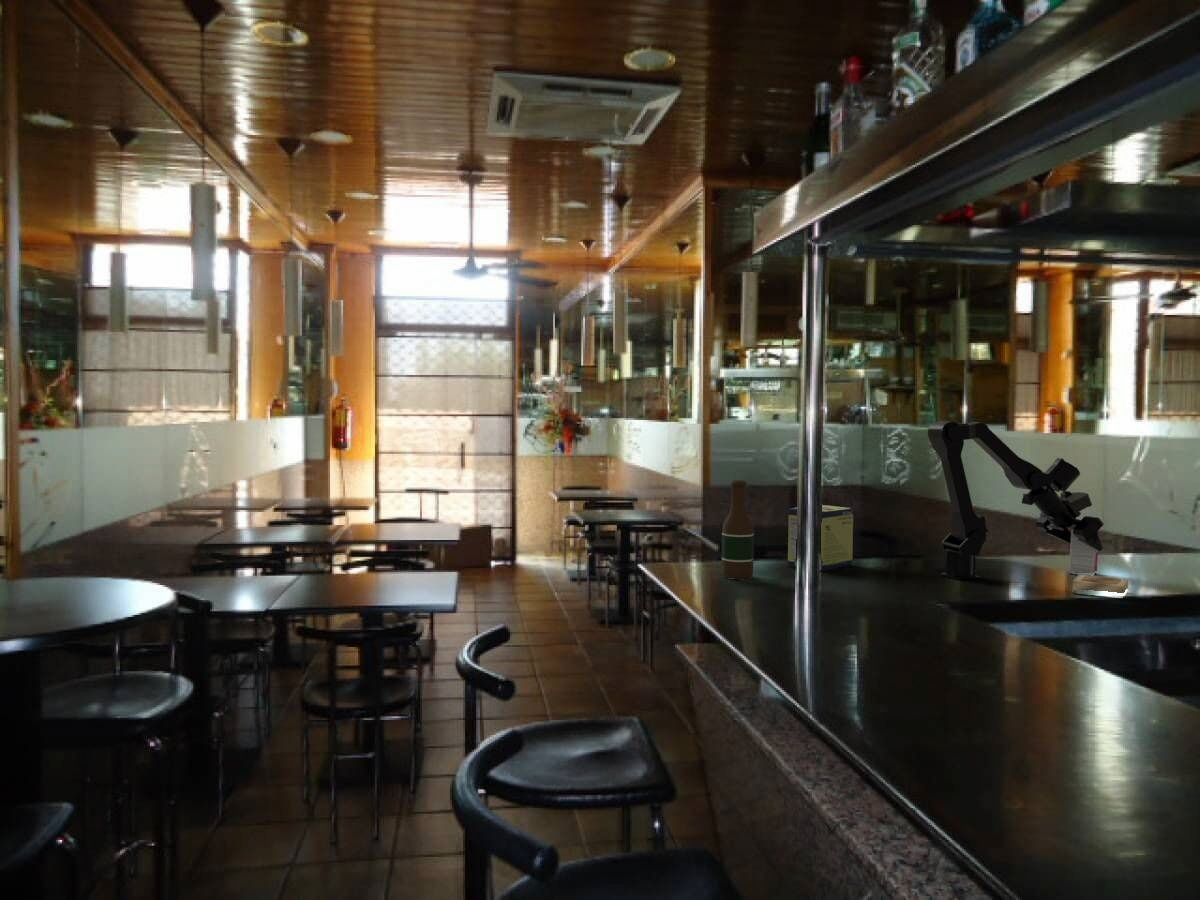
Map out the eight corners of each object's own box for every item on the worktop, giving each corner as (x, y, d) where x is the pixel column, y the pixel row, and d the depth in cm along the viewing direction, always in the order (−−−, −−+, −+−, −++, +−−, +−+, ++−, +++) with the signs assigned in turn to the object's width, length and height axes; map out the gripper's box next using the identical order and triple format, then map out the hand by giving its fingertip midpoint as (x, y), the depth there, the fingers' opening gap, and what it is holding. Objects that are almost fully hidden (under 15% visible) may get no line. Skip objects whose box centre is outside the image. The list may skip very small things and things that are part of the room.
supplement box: (1094, 577, 226) (1095, 531, 226) (1068, 574, 230) (1069, 529, 229) (1098, 573, 231) (1099, 529, 230) (1072, 571, 234) (1073, 527, 234)
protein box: (853, 565, 241) (854, 507, 240) (820, 572, 230) (821, 511, 229) (819, 560, 248) (820, 504, 248) (786, 566, 238) (787, 508, 237)
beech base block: (1072, 593, 205) (1072, 580, 205) (1079, 586, 213) (1079, 573, 213) (1122, 599, 199) (1123, 585, 199) (1127, 592, 207) (1128, 578, 207)
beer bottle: (755, 580, 218) (757, 481, 217) (723, 580, 218) (724, 481, 217) (750, 574, 226) (752, 479, 224) (719, 574, 226) (721, 478, 225)
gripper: (1097, 485, 219) (1136, 529, 222) (1046, 478, 238) (1082, 519, 240) (1068, 517, 218) (1106, 561, 221) (1019, 509, 237) (1055, 549, 239)
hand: (1087, 546), depth 230 cm, fingers open, 9 cm apart
